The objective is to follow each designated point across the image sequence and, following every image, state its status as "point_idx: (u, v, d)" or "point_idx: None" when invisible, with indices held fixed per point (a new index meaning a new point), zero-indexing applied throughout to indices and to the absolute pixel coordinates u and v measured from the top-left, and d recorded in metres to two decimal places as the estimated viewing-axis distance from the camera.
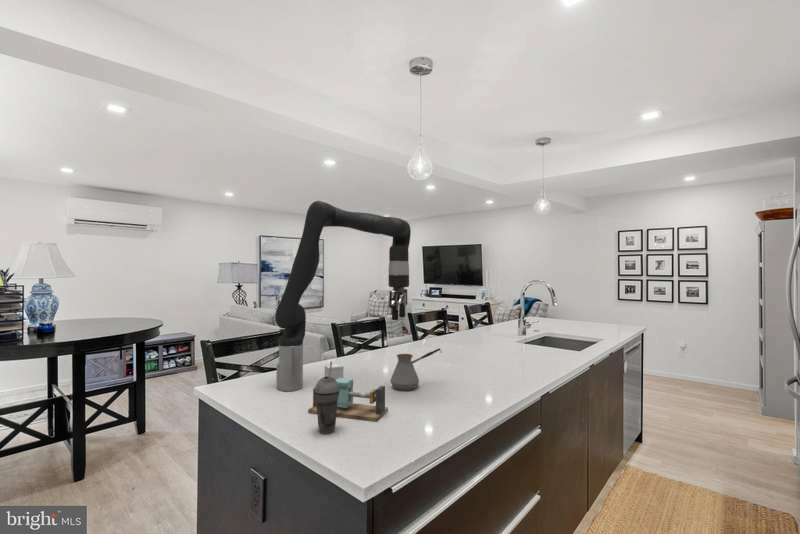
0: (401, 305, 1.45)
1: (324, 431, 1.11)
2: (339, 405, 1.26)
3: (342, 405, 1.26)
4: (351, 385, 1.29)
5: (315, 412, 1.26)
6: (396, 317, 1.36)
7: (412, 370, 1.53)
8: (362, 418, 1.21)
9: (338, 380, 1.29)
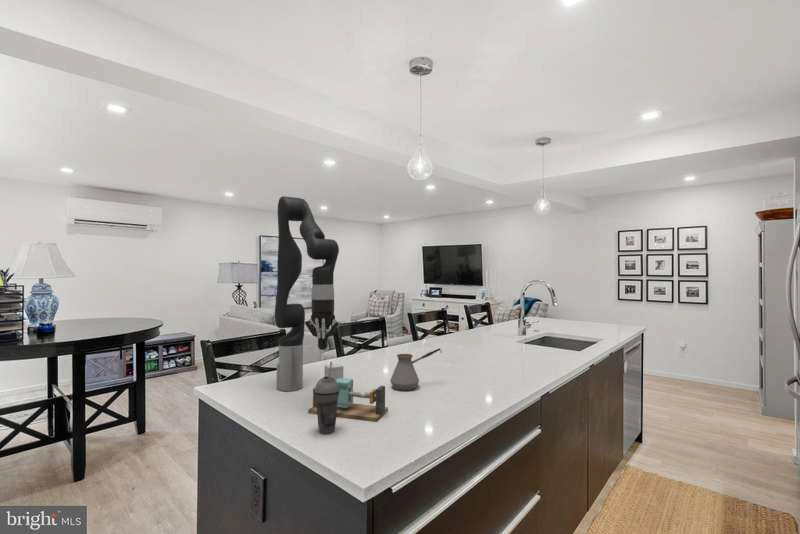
0: (321, 335, 1.31)
1: (324, 431, 1.11)
2: (339, 405, 1.26)
3: (342, 405, 1.26)
4: (351, 385, 1.29)
5: (315, 412, 1.26)
6: None
7: (412, 370, 1.53)
8: (362, 418, 1.21)
9: (338, 380, 1.29)
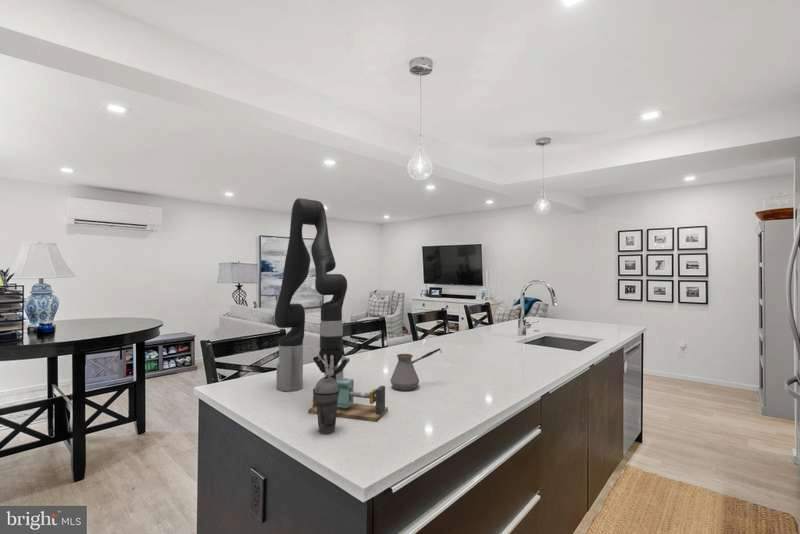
0: None
1: (324, 431, 1.11)
2: (339, 405, 1.26)
3: (342, 405, 1.26)
4: (352, 385, 1.29)
5: (315, 412, 1.26)
6: None
7: (412, 370, 1.53)
8: (362, 418, 1.21)
9: (338, 380, 1.29)
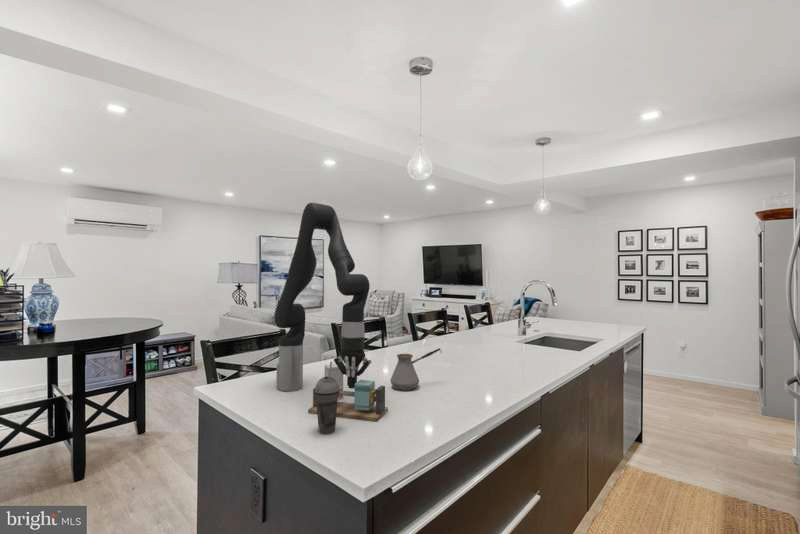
0: (350, 373, 1.28)
1: (324, 431, 1.11)
2: (361, 407, 1.24)
3: (364, 408, 1.24)
4: (373, 387, 1.27)
5: (315, 412, 1.26)
6: None
7: (412, 370, 1.53)
8: (362, 418, 1.21)
9: (360, 382, 1.26)
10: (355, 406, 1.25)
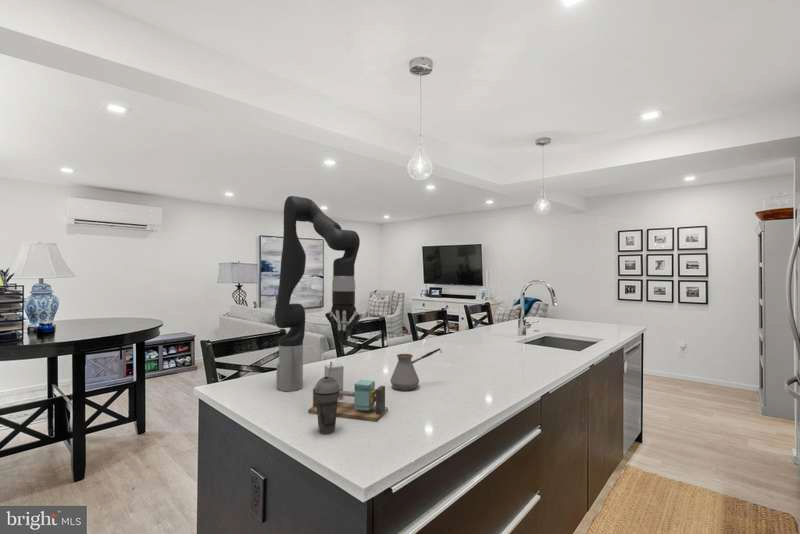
0: (341, 327, 1.30)
1: (324, 431, 1.11)
2: (361, 407, 1.24)
3: (364, 408, 1.24)
4: (373, 387, 1.27)
5: (315, 412, 1.26)
6: None
7: (412, 370, 1.53)
8: (362, 418, 1.21)
9: (360, 382, 1.26)
10: (355, 406, 1.25)
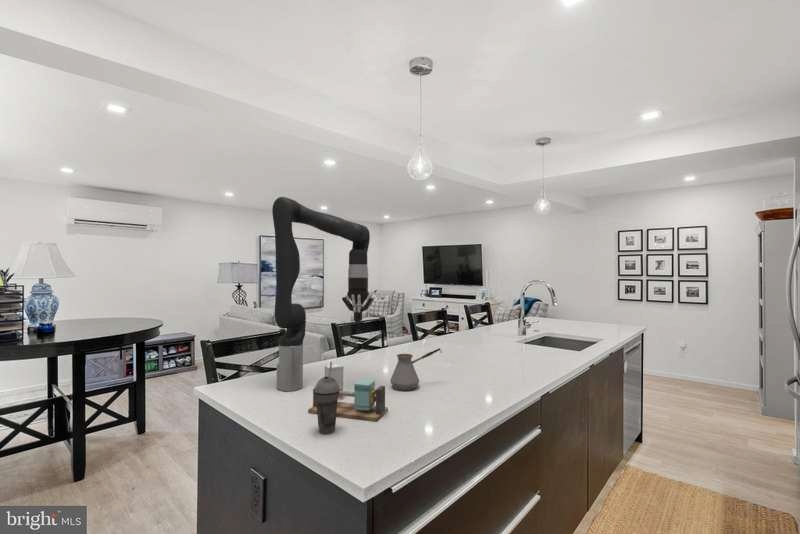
0: None
1: (324, 431, 1.11)
2: (361, 407, 1.24)
3: (364, 408, 1.24)
4: (373, 387, 1.27)
5: (315, 412, 1.26)
6: None
7: (412, 370, 1.53)
8: (362, 418, 1.21)
9: (360, 382, 1.26)
10: (355, 406, 1.25)
